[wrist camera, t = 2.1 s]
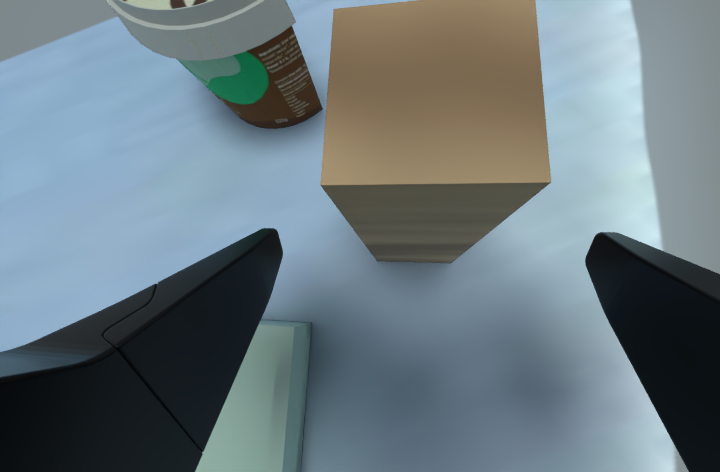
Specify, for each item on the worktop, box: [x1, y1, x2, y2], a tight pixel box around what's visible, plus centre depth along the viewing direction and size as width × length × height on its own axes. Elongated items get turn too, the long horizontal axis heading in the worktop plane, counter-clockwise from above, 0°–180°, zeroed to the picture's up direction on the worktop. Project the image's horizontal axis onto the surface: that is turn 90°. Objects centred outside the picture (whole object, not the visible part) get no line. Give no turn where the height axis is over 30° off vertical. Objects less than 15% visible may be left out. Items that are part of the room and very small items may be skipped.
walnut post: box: [321, 0, 551, 263], centre depth 13 cm, size 4×4×13 cm
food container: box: [107, 0, 323, 129], centre depth 18 cm, size 12×6×10 cm, turn 41°
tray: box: [195, 320, 311, 472], centre depth 17 cm, size 12×12×3 cm
